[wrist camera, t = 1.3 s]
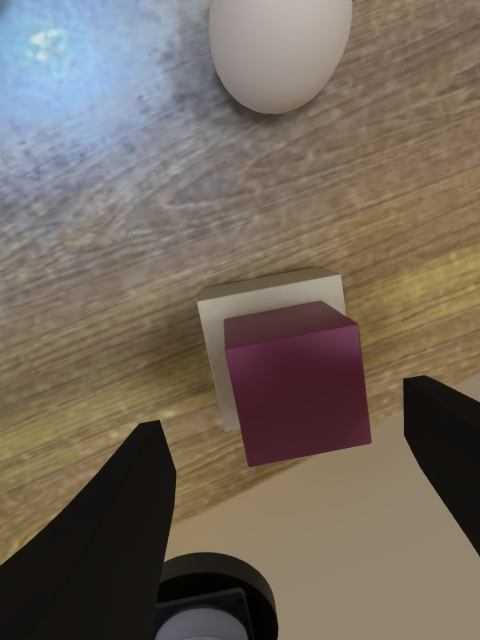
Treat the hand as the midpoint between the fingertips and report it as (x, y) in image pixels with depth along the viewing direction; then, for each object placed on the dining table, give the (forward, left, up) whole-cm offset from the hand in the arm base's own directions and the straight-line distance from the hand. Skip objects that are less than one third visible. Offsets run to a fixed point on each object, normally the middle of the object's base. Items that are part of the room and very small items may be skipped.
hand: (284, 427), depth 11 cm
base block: (0, -1, -10) cm, 10 cm away
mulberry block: (0, -1, -6) cm, 6 cm away
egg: (+13, -3, -10) cm, 17 cm away
